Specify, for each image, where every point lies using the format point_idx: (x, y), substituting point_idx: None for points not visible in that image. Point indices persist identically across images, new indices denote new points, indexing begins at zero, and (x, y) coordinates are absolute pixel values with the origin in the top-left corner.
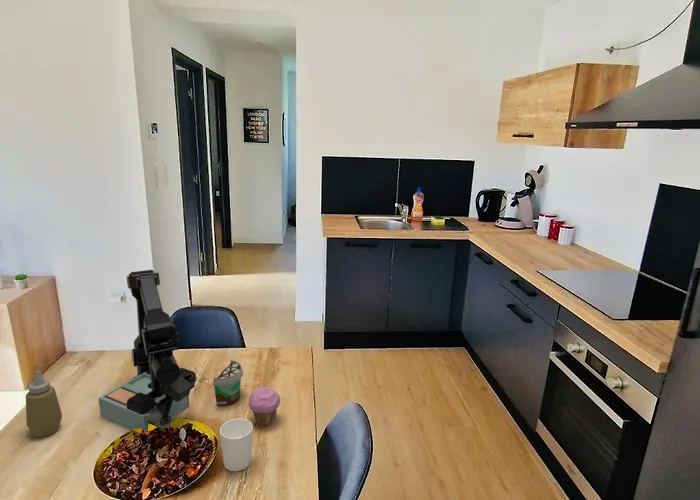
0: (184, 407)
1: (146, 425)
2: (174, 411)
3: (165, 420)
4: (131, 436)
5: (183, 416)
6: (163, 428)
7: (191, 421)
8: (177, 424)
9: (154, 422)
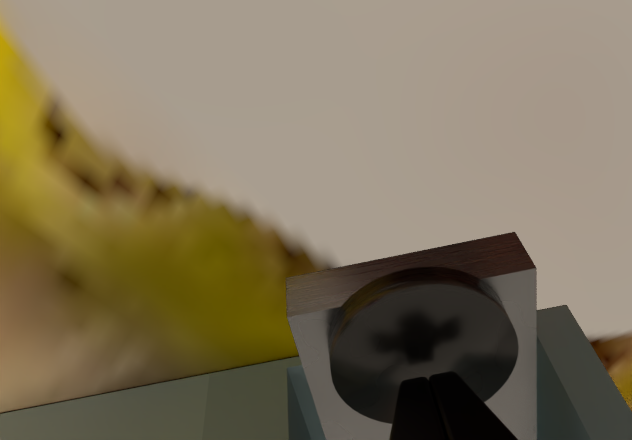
0: (13, 426)
1: (594, 408)
2: (151, 430)
3: (451, 336)
4: (629, 376)
5: (85, 322)
6: (504, 236)
7: (38, 185)
8: (213, 251)
9: (534, 395)
